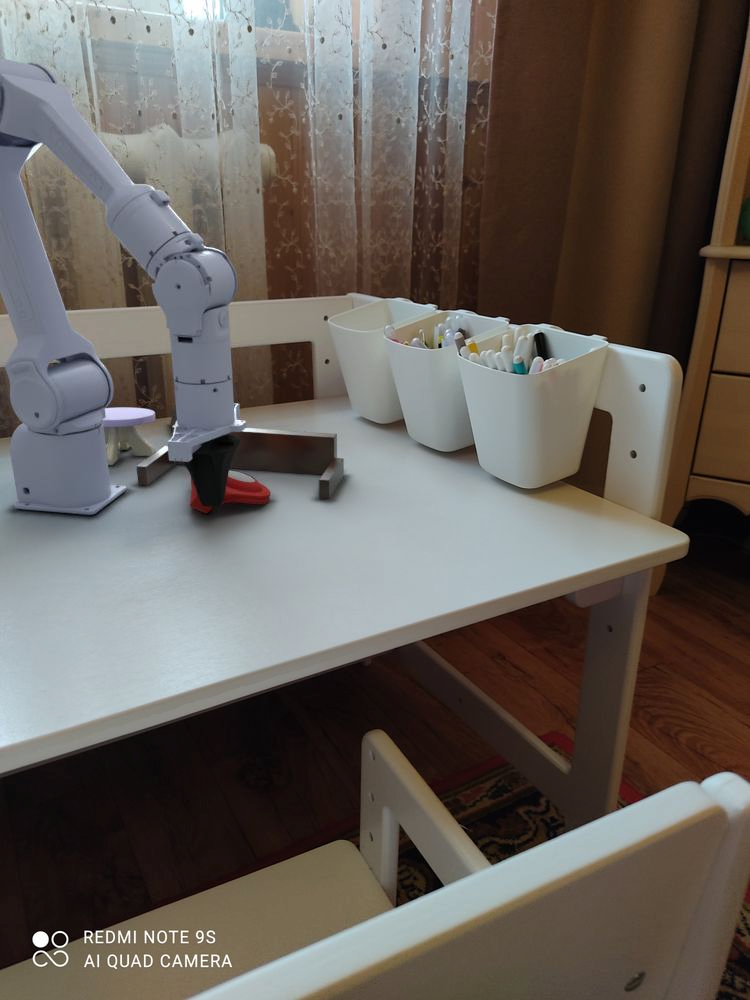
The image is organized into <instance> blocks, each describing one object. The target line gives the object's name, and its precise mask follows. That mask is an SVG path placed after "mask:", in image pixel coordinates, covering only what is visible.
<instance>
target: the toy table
mask: <svg viewBox="0 0 750 1000" xmlns="http://www.w3.org/2000/svg"><path fill="white" fill-rule="evenodd" d="M105 415H106V418H104V419H103V428H104V436H105V444H106V452H107V460H108V466H113V465H114V464H115V463H117V461H118V460H119V454H118V453H119V446H120V450H121V451H122V450H125V451H126V450H129V449H130V448H131V450H132V453H133V456H134V457H150V456H151V455H153V454H154V453H155V448H154V446H153V445H152V444H151V443H150V442H149V441H148V440H146V439H145V438H144V437H143V436H142V435H140V433H139V432H138V431H137V429H136V428H135V426H141V425H147V424H151V423H153V422H155V421H156V412H155V411H154V410H152V409H148V408H142V407H125V406H124V407H119V406H118V407H106V408H105Z"/></svg>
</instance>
